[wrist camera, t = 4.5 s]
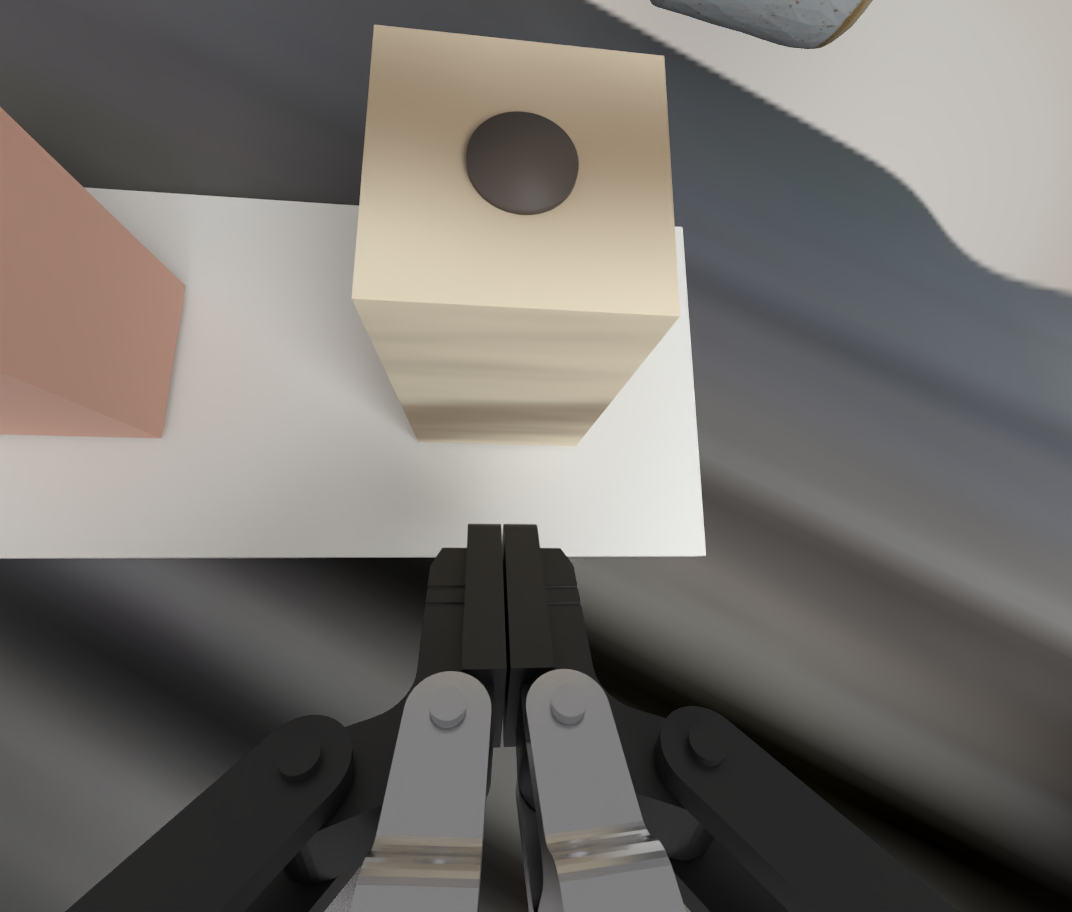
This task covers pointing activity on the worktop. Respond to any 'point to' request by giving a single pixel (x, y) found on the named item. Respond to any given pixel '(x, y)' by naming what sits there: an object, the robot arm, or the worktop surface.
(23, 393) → the key two
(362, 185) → the key one
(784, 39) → the ceramic mug
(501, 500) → the keypad board
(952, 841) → the worktop surface
